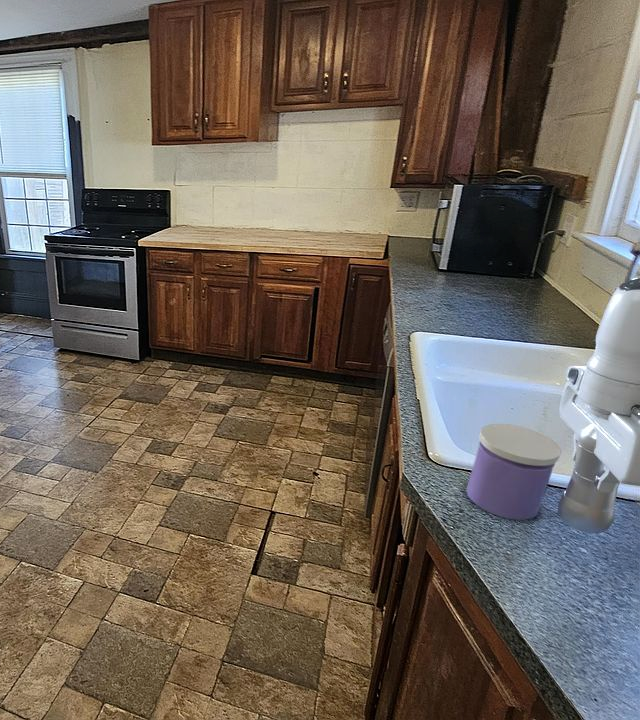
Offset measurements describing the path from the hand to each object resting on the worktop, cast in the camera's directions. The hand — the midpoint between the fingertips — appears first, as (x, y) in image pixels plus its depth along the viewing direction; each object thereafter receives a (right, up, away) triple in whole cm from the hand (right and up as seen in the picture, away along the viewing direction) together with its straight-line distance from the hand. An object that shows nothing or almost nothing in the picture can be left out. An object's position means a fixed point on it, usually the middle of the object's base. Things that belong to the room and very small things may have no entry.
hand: (590, 475), depth 79 cm
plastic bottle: (+1, -8, +3) cm, 9 cm away
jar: (-3, -8, +15) cm, 17 cm away
